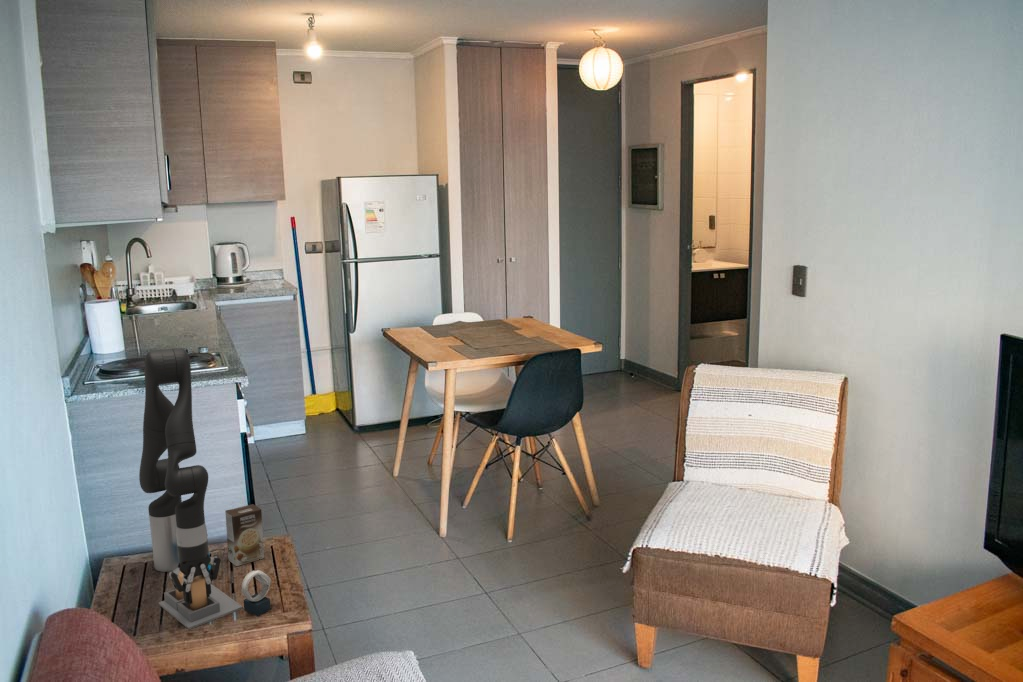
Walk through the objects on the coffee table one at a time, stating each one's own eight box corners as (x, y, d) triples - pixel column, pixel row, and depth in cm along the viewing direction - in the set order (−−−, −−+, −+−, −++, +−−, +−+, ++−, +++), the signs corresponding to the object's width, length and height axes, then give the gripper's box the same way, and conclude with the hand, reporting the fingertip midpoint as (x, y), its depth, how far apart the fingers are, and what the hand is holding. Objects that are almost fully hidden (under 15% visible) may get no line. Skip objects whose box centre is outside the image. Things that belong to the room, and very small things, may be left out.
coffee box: (236, 567, 251) (232, 516, 248) (228, 560, 256) (223, 510, 253) (265, 558, 257) (261, 509, 254) (256, 551, 262) (253, 503, 259)
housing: (158, 604, 230) (155, 575, 228) (211, 585, 240) (208, 557, 238) (188, 629, 217) (186, 599, 215) (242, 608, 227) (240, 579, 225)
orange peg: (187, 607, 224) (184, 579, 223) (203, 601, 227) (200, 573, 226) (194, 612, 221) (191, 584, 220) (210, 606, 224) (207, 579, 223)
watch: (276, 606, 228) (273, 568, 226) (252, 619, 221) (249, 580, 219) (262, 600, 231) (259, 563, 229) (238, 613, 224) (235, 575, 222)
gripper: (211, 527, 228) (216, 585, 231) (159, 544, 218) (165, 604, 221) (224, 535, 223) (229, 595, 226) (171, 552, 213) (177, 614, 216)
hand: (197, 599), depth 224 cm, fingers closed on orange peg, 4 cm apart
